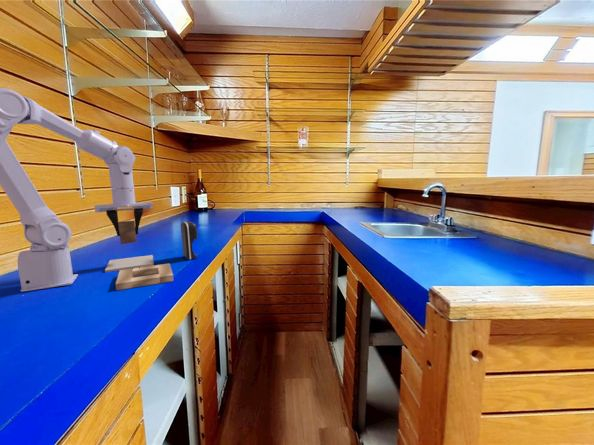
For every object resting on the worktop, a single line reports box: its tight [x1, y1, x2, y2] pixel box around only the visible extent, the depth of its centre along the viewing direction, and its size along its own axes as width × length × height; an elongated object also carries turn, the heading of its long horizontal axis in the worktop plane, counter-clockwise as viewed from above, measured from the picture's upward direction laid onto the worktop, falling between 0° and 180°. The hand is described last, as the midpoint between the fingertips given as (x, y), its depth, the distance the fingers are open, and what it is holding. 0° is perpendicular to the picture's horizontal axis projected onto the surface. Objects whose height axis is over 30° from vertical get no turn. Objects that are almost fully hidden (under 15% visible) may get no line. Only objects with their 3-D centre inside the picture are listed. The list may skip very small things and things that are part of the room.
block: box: [118, 220, 137, 245], centre depth 87 cm, size 4×4×6 cm
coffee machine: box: [180, 221, 199, 260], centre depth 94 cm, size 7×4×11 cm, turn 32°
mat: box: [104, 254, 154, 273], centre depth 89 cm, size 12×12×1 cm
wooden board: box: [115, 263, 174, 291], centre depth 75 cm, size 12×12×2 cm
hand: (128, 234), depth 88 cm, fingers closed on block, 4 cm apart
